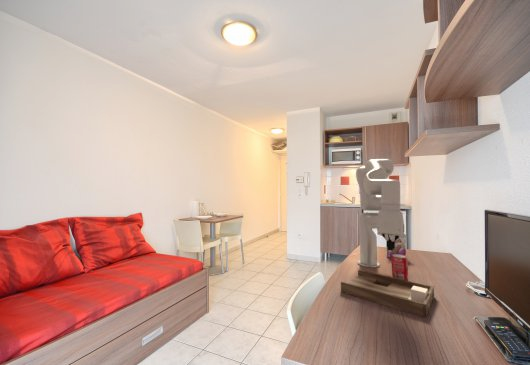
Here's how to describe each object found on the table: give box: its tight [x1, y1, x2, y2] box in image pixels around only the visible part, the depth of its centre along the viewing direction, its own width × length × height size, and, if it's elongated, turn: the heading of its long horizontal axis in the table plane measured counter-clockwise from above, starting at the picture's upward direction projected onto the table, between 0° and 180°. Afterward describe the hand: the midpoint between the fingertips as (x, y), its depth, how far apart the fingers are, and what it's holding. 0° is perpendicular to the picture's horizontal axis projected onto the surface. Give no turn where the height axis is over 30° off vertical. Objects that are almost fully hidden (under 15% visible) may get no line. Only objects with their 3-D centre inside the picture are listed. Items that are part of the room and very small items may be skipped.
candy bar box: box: [386, 233, 407, 259], centre depth 162 cm, size 11×5×16 cm, turn 66°
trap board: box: [340, 269, 435, 318], centre depth 105 cm, size 22×32×4 cm
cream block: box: [411, 286, 428, 302], centre depth 97 cm, size 5×5×4 cm
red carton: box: [391, 254, 409, 281], centre depth 120 cm, size 7×7×13 cm
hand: (390, 249), depth 105 cm, fingers closed
